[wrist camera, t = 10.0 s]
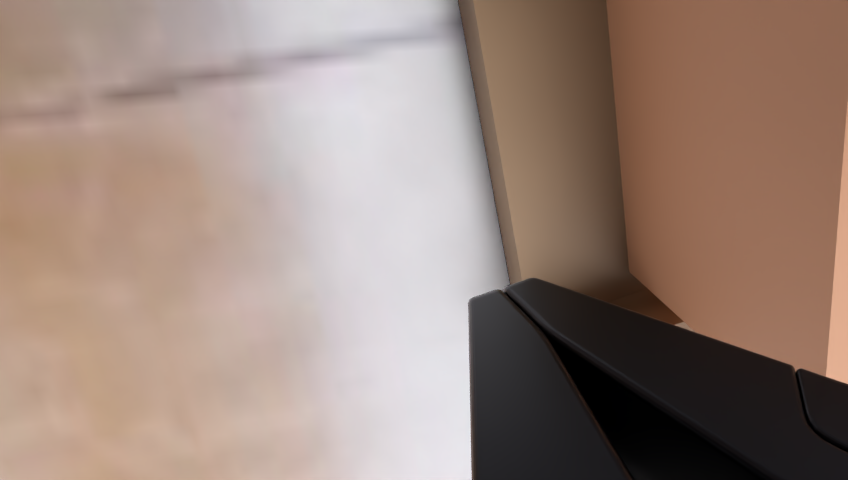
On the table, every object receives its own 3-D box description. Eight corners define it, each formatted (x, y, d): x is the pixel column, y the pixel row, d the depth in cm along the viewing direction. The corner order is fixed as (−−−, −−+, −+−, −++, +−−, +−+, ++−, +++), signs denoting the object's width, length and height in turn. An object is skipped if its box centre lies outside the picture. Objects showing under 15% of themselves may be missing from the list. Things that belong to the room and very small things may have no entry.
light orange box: (629, 272, 17) (820, 445, 11) (592, -166, 12) (871, -206, 7) (781, 219, 17) (1029, 363, 12) (796, -216, 13) (1194, -289, 8)
